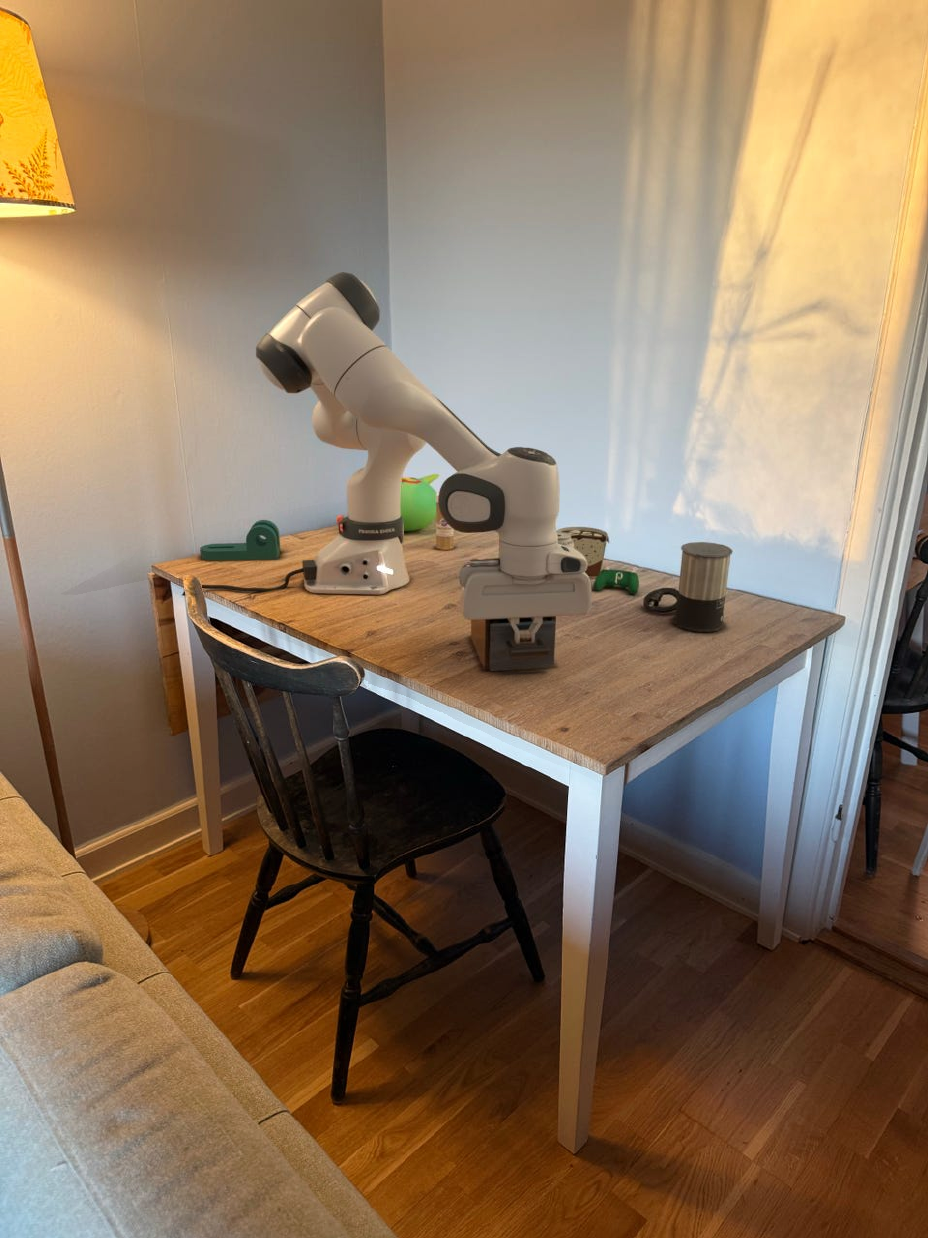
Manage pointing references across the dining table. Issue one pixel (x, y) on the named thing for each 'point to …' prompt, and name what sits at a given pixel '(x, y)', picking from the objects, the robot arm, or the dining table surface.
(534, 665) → the drawer
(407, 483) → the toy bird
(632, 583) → the gaming controller
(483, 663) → the cabinet
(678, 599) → the milk frother
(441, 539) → the sprinkles bottle
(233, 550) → the bracket
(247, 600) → the dining table surface
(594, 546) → the food container
